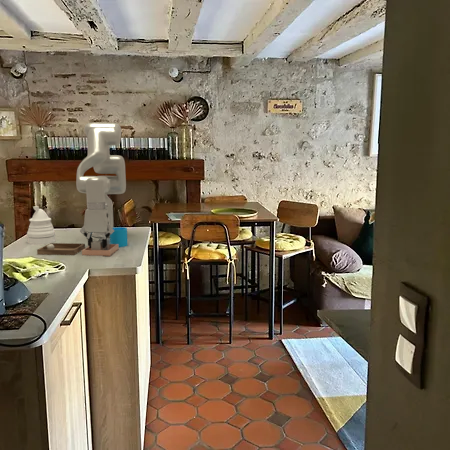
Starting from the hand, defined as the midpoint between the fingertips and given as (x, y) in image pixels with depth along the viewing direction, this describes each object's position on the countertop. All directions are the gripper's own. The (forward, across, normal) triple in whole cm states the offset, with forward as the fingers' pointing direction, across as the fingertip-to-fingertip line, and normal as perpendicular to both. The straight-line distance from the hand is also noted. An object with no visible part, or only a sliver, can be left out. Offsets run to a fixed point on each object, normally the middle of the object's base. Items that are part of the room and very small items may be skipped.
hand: (97, 247), depth 198 cm
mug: (+3, -4, -21) cm, 21 cm away
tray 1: (+3, +17, -3) cm, 17 cm away
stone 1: (+3, 0, 0) cm, 3 cm away
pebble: (+3, +22, -3) cm, 22 cm away
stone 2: (+3, -1, -6) cm, 7 cm away
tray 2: (+3, 0, -3) cm, 4 cm away
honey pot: (+3, +35, -23) cm, 42 cm away
